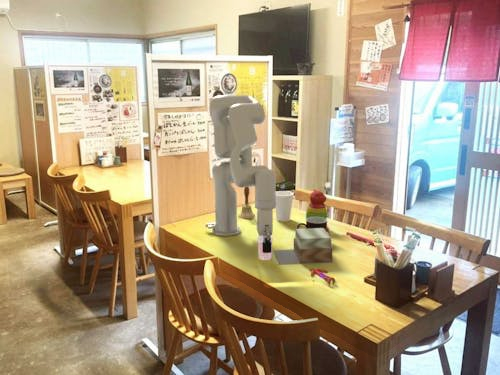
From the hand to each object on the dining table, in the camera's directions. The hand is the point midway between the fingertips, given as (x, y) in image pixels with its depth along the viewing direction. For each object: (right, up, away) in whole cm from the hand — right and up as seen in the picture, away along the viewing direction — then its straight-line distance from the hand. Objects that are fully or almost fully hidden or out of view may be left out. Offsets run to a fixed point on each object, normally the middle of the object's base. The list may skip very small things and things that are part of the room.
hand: (265, 247), depth 168 cm
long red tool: (+43, -1, +19) cm, 47 cm away
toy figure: (+18, -9, -13) cm, 25 cm away
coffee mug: (+20, -1, +20) cm, 28 cm away
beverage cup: (0, -5, +2) cm, 5 cm away
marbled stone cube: (+18, -3, +3) cm, 18 cm away
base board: (+14, -5, +3) cm, 15 cm away
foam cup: (+10, +7, +50) cm, 52 cm away
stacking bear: (+25, +3, +37) cm, 45 cm away
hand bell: (-7, +8, +56) cm, 57 cm away
